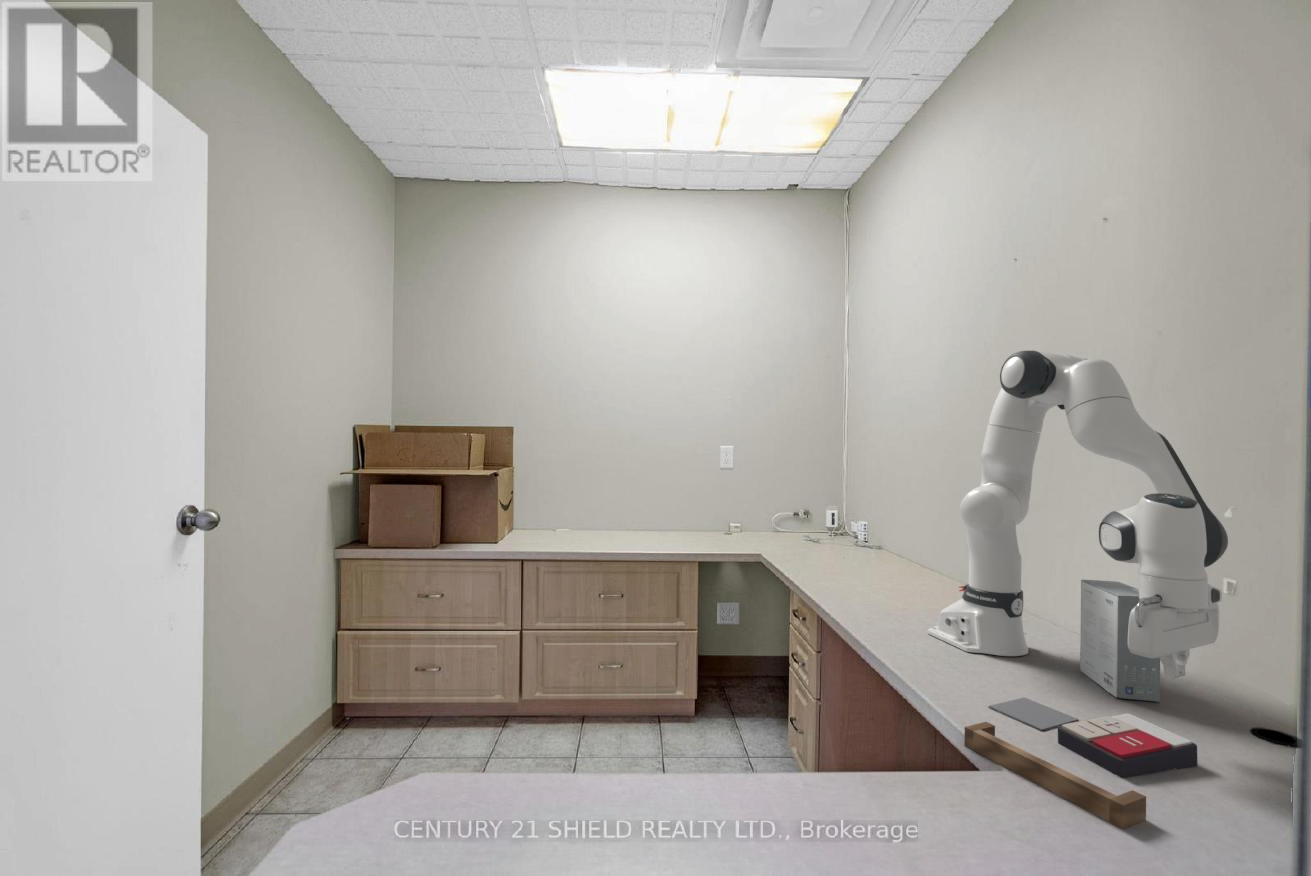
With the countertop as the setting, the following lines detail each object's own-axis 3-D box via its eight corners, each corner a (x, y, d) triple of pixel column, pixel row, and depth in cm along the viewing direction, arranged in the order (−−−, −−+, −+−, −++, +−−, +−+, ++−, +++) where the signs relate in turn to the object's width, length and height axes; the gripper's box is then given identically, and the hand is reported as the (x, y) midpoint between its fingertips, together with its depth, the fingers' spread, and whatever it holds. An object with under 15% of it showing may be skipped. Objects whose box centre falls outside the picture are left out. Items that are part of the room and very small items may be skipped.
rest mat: (988, 707, 114) (988, 705, 114) (1024, 698, 118) (1024, 697, 118) (1041, 731, 105) (1041, 729, 105) (1078, 720, 109) (1078, 719, 109)
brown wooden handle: (964, 745, 99) (964, 726, 99) (985, 739, 101) (986, 721, 101) (1123, 829, 78) (1123, 805, 78) (1146, 819, 80) (1146, 796, 80)
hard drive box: (1162, 703, 117) (1163, 598, 117) (1116, 699, 118) (1117, 595, 118) (1118, 673, 132) (1119, 580, 132) (1078, 670, 134) (1079, 578, 134)
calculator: (1055, 722, 101) (1127, 708, 105) (1056, 748, 101) (1128, 734, 105) (1121, 756, 90) (1198, 739, 94) (1122, 785, 90) (1199, 767, 94)
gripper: (1159, 603, 95) (1161, 693, 95) (1227, 590, 104) (1229, 672, 104) (1114, 594, 101) (1116, 680, 101) (1182, 583, 110) (1184, 661, 109)
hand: (1174, 676), depth 102 cm, fingers closed
